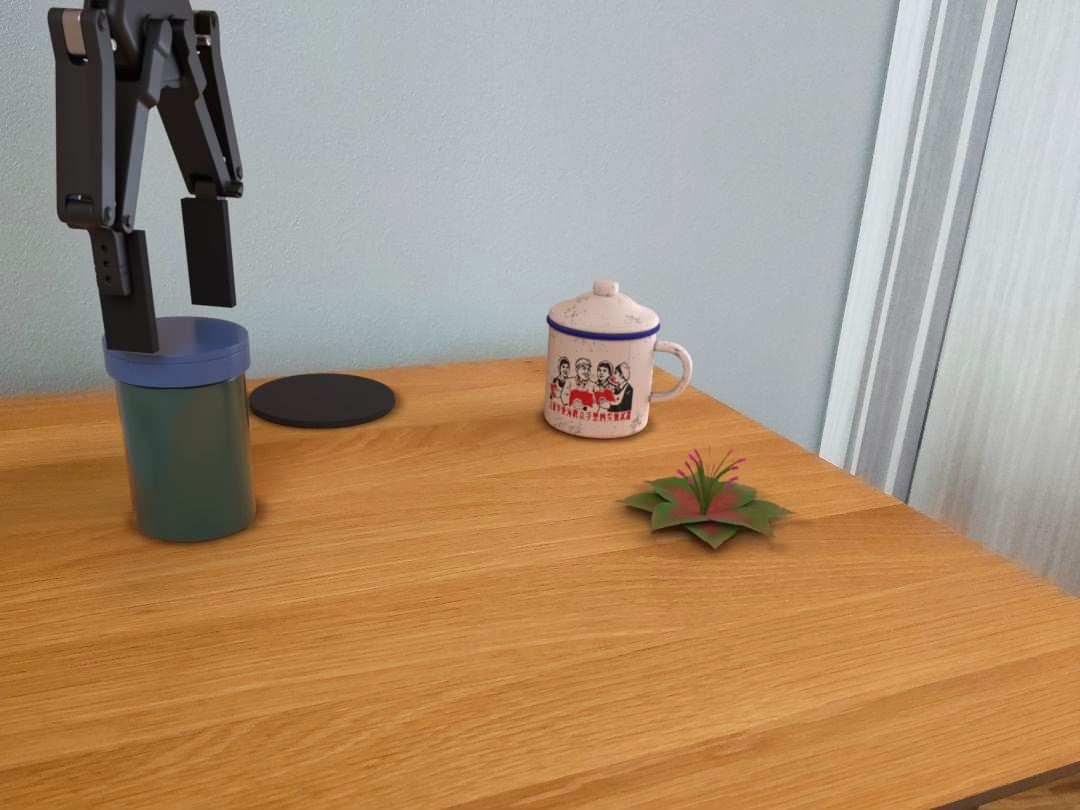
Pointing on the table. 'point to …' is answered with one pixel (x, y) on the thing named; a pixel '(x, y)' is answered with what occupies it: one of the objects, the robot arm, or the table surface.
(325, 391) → the coaster
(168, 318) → the jar lid
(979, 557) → the table surface
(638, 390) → the teacup with lid
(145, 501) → the jar
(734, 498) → the lily flower
